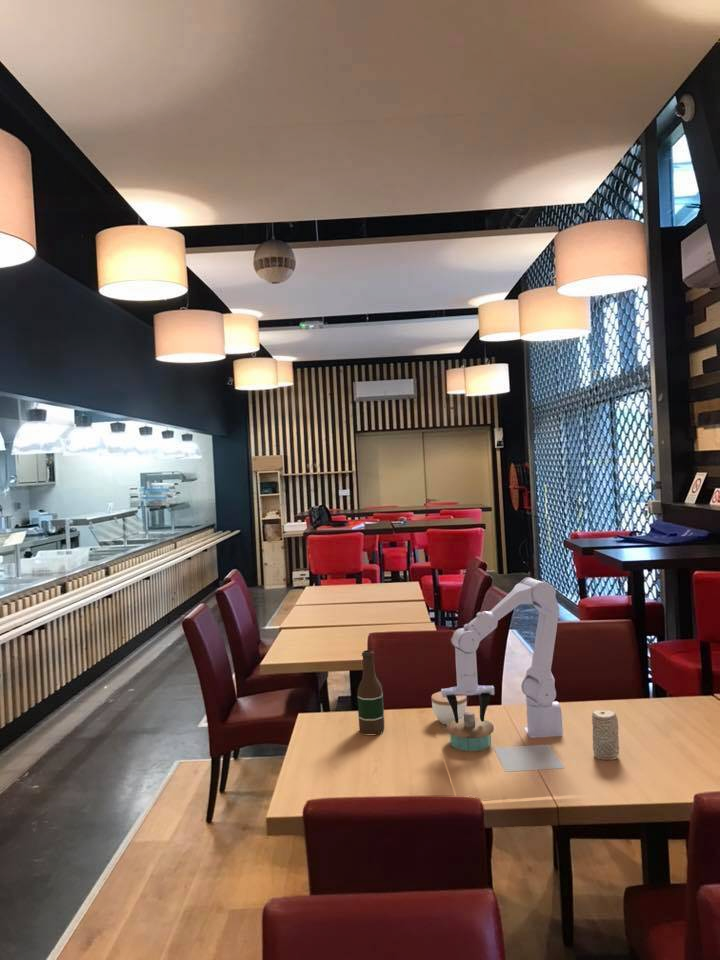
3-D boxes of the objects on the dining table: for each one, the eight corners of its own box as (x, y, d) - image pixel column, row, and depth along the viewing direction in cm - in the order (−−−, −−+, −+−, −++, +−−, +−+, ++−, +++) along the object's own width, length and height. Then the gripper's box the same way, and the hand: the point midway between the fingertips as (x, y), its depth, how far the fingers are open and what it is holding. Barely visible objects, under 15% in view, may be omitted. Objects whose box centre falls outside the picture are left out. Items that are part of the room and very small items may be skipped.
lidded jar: (467, 714, 221) (465, 684, 221) (468, 727, 211) (467, 696, 211) (432, 715, 223) (430, 685, 222) (432, 728, 212) (430, 697, 212)
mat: (548, 746, 194) (548, 744, 193) (565, 770, 178) (564, 767, 178) (493, 750, 193) (493, 747, 193) (505, 773, 178) (505, 771, 178)
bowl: (486, 736, 203) (485, 720, 203) (494, 751, 192) (493, 735, 192) (448, 738, 203) (447, 722, 203) (453, 754, 192) (453, 737, 192)
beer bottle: (389, 728, 214) (385, 649, 213) (376, 737, 207) (372, 655, 206) (368, 724, 218) (363, 646, 217) (354, 733, 211) (349, 653, 211)
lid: (486, 719, 204) (485, 704, 204) (499, 735, 191) (498, 720, 191) (442, 722, 203) (441, 708, 203) (452, 740, 190) (451, 724, 190)
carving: (589, 761, 183) (587, 714, 183) (599, 750, 189) (596, 706, 189) (614, 766, 179) (611, 719, 179) (623, 755, 185) (621, 709, 185)
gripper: (442, 678, 193) (445, 727, 193) (495, 675, 193) (498, 724, 194) (439, 670, 200) (441, 718, 201) (490, 667, 200) (493, 715, 201)
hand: (469, 721), depth 198 cm, fingers open, 6 cm apart
